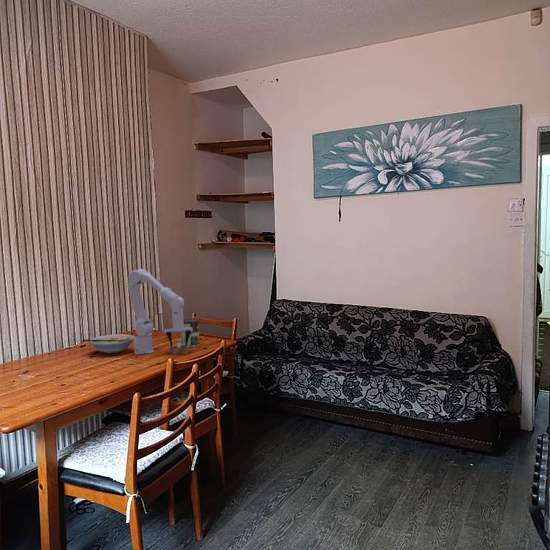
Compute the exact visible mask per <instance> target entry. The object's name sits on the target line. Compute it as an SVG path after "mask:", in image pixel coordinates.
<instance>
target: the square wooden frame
mask: <svg viewBox="0 0 550 550" xmlns="http://www.w3.org/2000/svg"><path fill="white" fill-rule="evenodd" d="M168 347H169V348H168V349H169V350H168V351H169V353H170V354H171V353H172V354H171V355H173V356H174V355H175V356H180V355H179V354H181V355H188V354H190V347H187V346H185V345H181V348H177V345H172V347H171V346H168ZM187 353H188V354H187Z"/></svg>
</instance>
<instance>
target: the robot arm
mask: <svg viewBox="0 0 550 550" xmlns="http://www.w3.org/2000/svg"><path fill="white" fill-rule="evenodd" d="M127 277H128V282H127V287H126V288H127V290H128V294H129V299H130V301H131V305H132V308H133V311H134V315H135V319H136V320H135V322H134V325H135V329H134V330H135V331H134V332H135V334H136V335H137V336H134V339H133V343H134V344H133V345H134V346H133V350H134V355H142V354H143V355H144V353H145V354H153V353H154V348H153V334H152V332H153V330H154V324H153V323H152V322H151V319H150V318H149V317H148V316H147V313H146V310H145V309H146V308H145V306H144V302H143V299H142V295H141V291H140V289H139V288H140V287H141V285H142V284H144V283H145V284H149V285H150V286H151V287H153V289H155V290H156V291H158V292H159V296H160V297H161V298H162V299H163V300H165V301H166V302H167V303H168V304H169V306H170V309H171V318H172V322H171V323H172V328H164V329H163V334H165V335H166V336H167V338H168V341H169V344H170V347H172V346H173V341H172V340H173V339H172V336H173V335H172V334H173V333H181V332H185V337H186V341H185V344H186V346H187V343H188V339H189V336H190V334H191V332H192V331H193V329H192V327H184V320H185V319H184V306H185V299H184V298H183V297H182V296H179V295H178V294H176V293H175V292H174V291H172V288H170V287H164V285H162V283H160V282H159V281H158V280H157V279H156V278H155V277H154V276H153V275H152V273H151V272H149V271H148V270H147V269H145V268H140V269H133V270H131V272H130V273H129V274H128V276H127Z"/></svg>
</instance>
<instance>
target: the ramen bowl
mask: <svg viewBox="0 0 550 550" xmlns="http://www.w3.org/2000/svg"><path fill="white" fill-rule="evenodd" d="M134 337H135V336H134V335H132V334H124V333H123V334H119V333H118V334H107V335H105V334H104V335H100V336H96V337H94V338H93V337H92V338H91V339H82V340H81V341H82V342H84V343H85V342H86V343H87V342H90V344H91V345H92V347H93V348H94V349H95V350H96V351H98V352H100V353H105V354H107V353H108V354H109V355H111V353H114V354H117V353H120V352H121V351H124V350H126V349H127V348H129V346H131V344H132V342H134ZM108 354H107V355H108Z"/></svg>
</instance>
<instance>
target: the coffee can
mask: <svg viewBox="0 0 550 550" xmlns="http://www.w3.org/2000/svg"><path fill="white" fill-rule="evenodd" d="M183 320H184V327H192V329H193V331H192V332H191V334H190V336H189V339H188V343H187V347H189V348H195V347H199V346H200V320H199V319H195V318H190V319H189V318H188V319H183ZM180 339H181V345H185V346H186V344H185V341H186V337H185V332H180Z"/></svg>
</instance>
